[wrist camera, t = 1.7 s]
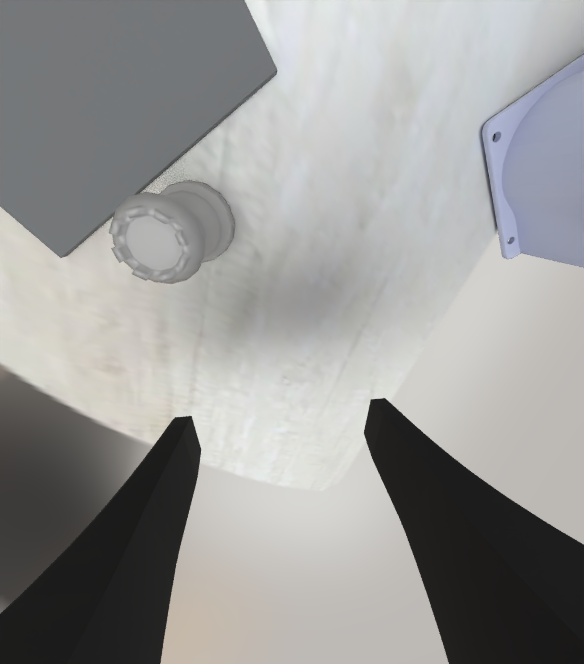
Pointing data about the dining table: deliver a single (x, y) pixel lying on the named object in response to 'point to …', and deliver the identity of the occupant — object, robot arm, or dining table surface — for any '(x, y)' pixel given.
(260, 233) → the dining table surface
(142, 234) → the rook chess piece
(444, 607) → the robot arm
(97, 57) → the mat
